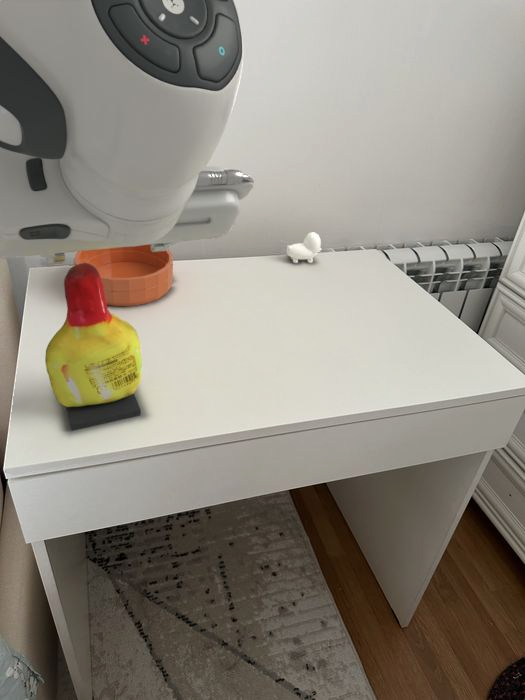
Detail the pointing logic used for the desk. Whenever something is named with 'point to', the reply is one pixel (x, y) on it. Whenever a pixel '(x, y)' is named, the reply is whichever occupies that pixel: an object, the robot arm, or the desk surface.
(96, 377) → the bottle
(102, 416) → the mat
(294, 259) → the toy creature
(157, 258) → the bowl
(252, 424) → the desk surface
